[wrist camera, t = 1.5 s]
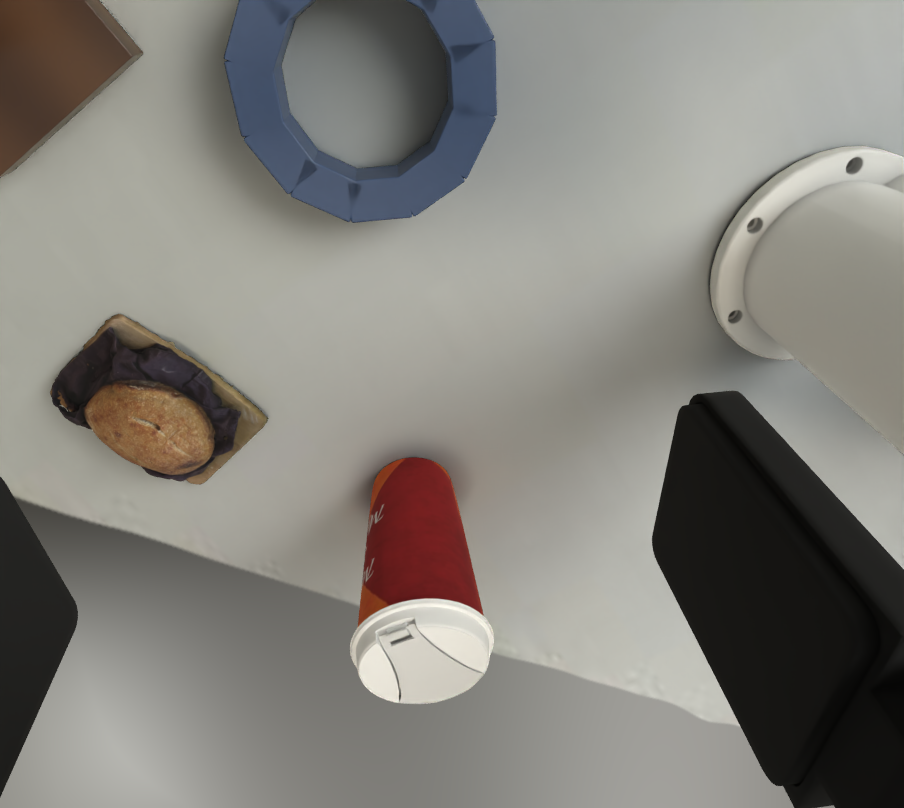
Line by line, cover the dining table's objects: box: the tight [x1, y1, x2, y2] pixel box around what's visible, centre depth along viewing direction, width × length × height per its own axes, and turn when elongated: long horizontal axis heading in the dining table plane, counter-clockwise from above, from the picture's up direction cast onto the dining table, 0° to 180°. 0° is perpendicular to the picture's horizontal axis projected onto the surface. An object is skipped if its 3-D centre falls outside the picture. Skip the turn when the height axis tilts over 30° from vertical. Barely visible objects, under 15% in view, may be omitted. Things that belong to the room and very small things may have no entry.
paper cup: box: [350, 457, 494, 704], centre depth 38 cm, size 8×8×14 cm
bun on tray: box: [50, 314, 268, 484], centre depth 36 cm, size 11×8×4 cm
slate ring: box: [224, 0, 497, 223], centre depth 28 cm, size 12×12×2 cm
